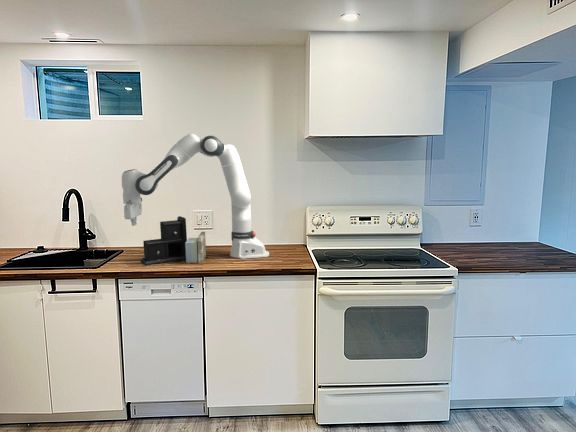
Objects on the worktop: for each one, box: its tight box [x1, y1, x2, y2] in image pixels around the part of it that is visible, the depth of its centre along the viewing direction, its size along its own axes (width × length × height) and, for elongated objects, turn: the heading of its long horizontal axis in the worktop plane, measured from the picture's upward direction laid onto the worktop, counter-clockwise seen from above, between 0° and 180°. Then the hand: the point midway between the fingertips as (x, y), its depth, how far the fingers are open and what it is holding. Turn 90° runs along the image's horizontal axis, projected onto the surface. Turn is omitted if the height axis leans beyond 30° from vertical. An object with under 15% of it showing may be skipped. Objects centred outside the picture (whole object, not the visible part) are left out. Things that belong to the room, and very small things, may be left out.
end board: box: [197, 231, 207, 264], centre depth 226 cm, size 2×18×14 cm, turn 5°
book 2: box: [191, 237, 199, 264], centre depth 226 cm, size 3×14×11 cm, turn 5°
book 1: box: [185, 237, 195, 264], centre depth 226 cm, size 3×14×11 cm, turn 5°
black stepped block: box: [140, 215, 188, 267], centre depth 223 cm, size 23×11×24 cm, turn 121°
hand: (134, 225), depth 221 cm, fingers closed
